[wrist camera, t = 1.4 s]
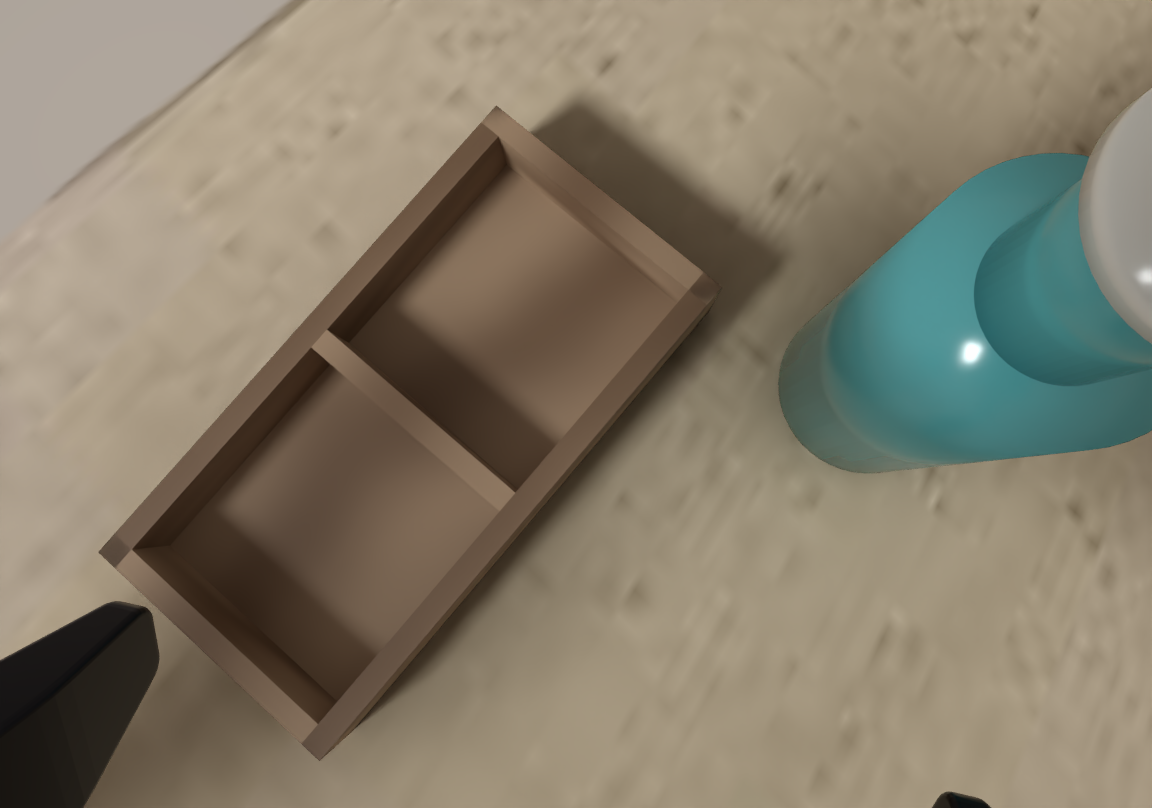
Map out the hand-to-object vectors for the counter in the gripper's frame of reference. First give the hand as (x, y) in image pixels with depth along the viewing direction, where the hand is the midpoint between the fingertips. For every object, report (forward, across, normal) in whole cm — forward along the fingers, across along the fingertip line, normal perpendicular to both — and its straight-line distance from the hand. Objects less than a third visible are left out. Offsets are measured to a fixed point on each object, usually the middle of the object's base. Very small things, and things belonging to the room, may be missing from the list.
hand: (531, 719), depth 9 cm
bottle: (+15, -7, +2) cm, 17 cm away
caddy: (+13, +5, +5) cm, 15 cm away
